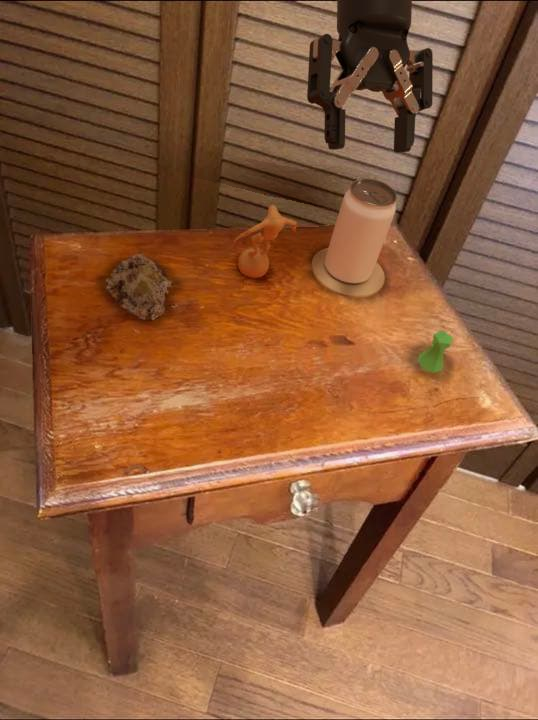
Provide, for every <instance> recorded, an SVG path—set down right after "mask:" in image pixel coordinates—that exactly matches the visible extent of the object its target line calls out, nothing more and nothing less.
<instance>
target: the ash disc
mask: <svg viewBox="0 0 538 720" xmlns="http://www.w3.org/2000/svg"><path fill="white" fill-rule="evenodd" d="M328 248H329V247H325V248H322V249H321V250H319V251H317V252H316V253H315V254H314V256H313V258H312V259H311V265H310V270H311V272H312V275H313V277H314V279H315V280H316V281H317V282H318V284H320V285H321V286H322V287H323V288H324V289H326V290H327V291H330V292H332V293H333V294H336V295H339V296H342V297H345V298H350V299H365V298H368V297H372V296H374V295H376V294H377V293H379V292H380V291H381V290H382V288H383V286H384V284H385V279H386V277H385V273H384V270H383V268H382V266H381V265H380V264H379V262H378V261H377V262H376V264H375V267H374V269H373V272H372V274H371V276H370V278H369V279H368V280H366V281H364V282H362V283H358V284H348V283H344V282H341V281H339V280H337V279H335V278H334V277H332V276H331V275H330V274H329V272H328V271H327V269H326V267H325V259H326V255H327V251H328Z"/></svg>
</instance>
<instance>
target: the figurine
mask: <svg viewBox="0 0 538 720" xmlns="http://www.w3.org/2000/svg"><path fill="white" fill-rule="evenodd" d="M285 225H290V226H291V227H290V231H291V232H293V233H296V231H297V226H298V223H297V221H296V220H293V219H291V218H288V217H285V216H282V215H281V213H280V212H279V210H278V209H277V207H276V205H275V204H270V205H269V206H268V209H267V213H266V217H264V219H263V220H262V221H261V222H259V223H258V224H255V225H253V226H252V227H250V228H249V229H246V231H244V232H242V233H240V234H239V235H238V236H236V237H235V238H234V240H233V243H232V244H233V245H234V244H236V242H238V240H240V239H243V238H245V237H247V236H248V235H250V234H251V233H254V232H257V231H259V230H262V229H263V231H262V232H258V233H256V234H254V235H252V236H251V238H250V239H251V243H252V247H248V248H246V249H244V250H243V251H242V252H241V253H240V255H239V256H238V260H237V267H238V270H239V271H240V273H241V274H242V275H243V276H245V277H247V278H252V279H257V278H262V277H263V276H265V275H266V273H267V272H268V270H269V267H270V259H269V256H268V255H267V253H268V252H269V249H270V248H271V242H270V241H274V240H275V239H277V237H278V236H279V233H280V232H281V231H282V230H283V228H284V227H285ZM263 241H264V249H262V248H260V247H259V244H258V243H261V242H263Z"/></svg>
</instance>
